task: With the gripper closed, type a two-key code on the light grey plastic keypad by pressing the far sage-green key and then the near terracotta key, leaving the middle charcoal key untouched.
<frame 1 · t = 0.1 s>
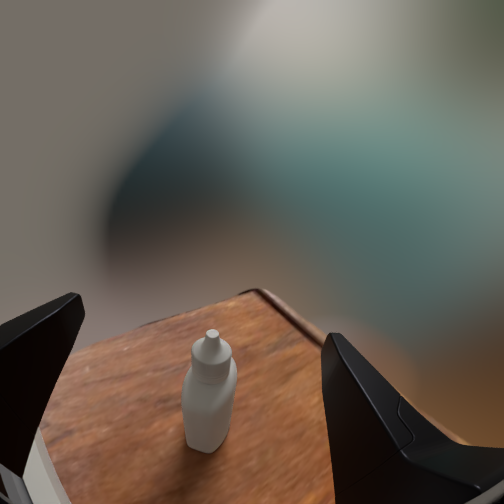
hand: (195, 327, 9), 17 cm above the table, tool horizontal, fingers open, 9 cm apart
keypad frame: (21, 500, 8), on the table
charcoal key: (1, 489, 6), point 3 cm above the table, slide at 0.0 cm
eye dropper bottle: (208, 428, 21), on the table
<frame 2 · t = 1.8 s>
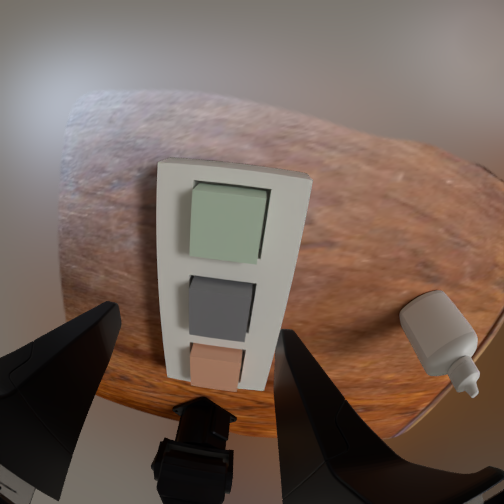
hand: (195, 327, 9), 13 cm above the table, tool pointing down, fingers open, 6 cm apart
keypad frame: (224, 288, 24), on the table
charcoal key: (219, 309, 21), point 3 cm above the table, slide at 0.0 cm
terracotta key: (215, 367, 24), point 3 cm above the table, slide at 0.0 cm
sage key: (227, 223, 18), point 3 cm above the table, slide at 0.0 cm
eye dropper bottle: (420, 305, 24), on the table
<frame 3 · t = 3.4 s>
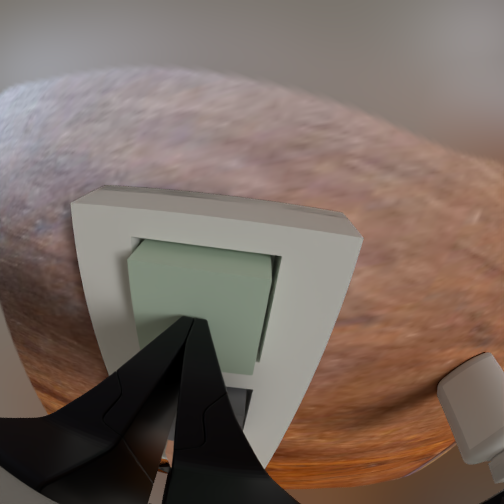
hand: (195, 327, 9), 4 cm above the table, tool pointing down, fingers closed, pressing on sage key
keypad frame: (206, 373, 15), on the table
charcoal key: (199, 414, 12), point 3 cm above the table, slide at 0.0 cm
terracotta key: (201, 457, 16), point 3 cm above the table, slide at 0.0 cm
sage key: (200, 308, 10), point 3 cm above the table, slide at 0.4 cm, touching gripper
eye dropper bottle: (462, 370, 16), on the table
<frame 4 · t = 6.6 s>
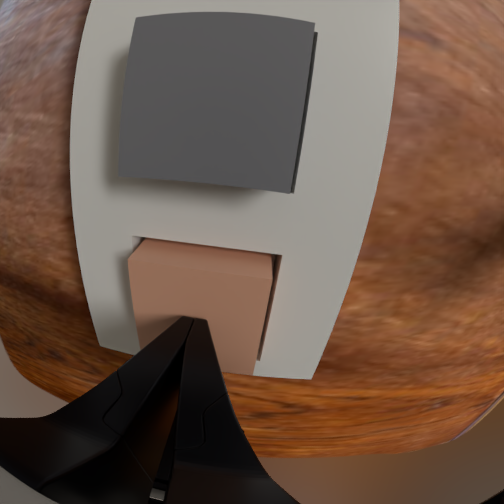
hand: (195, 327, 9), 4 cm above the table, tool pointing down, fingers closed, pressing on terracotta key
keypad frame: (228, 104, 9), on the table
charcoal key: (215, 96, 6), point 3 cm above the table, slide at 0.0 cm
terracotta key: (200, 308, 10), point 3 cm above the table, slide at 0.4 cm, touching gripper
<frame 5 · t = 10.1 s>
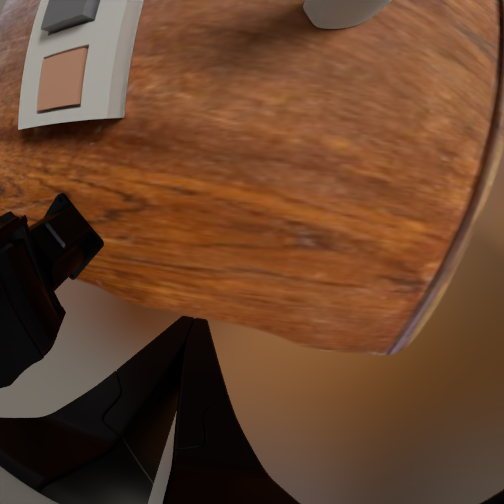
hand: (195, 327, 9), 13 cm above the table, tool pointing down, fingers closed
keypad frame: (92, 10, 13), on the table
charcoal key: (73, 1, 10), point 3 cm above the table, slide at 0.0 cm
terracotta key: (65, 80, 14), point 2 cm above the table, slide at 1.2 cm
eye dropper bottle: (338, 10, 14), on the table
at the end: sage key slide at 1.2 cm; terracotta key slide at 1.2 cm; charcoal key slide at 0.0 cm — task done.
